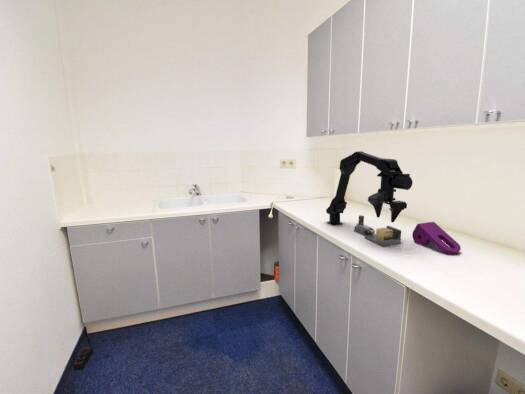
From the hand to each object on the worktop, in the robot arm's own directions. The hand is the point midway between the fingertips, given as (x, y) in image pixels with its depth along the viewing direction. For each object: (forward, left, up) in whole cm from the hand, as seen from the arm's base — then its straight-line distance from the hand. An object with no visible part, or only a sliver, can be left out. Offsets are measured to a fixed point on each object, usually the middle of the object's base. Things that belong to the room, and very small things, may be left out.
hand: (385, 219), depth 126 cm
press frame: (-7, +1, -11) cm, 13 cm away
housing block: (0, 0, -10) cm, 10 cm away
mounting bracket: (+14, +17, -11) cm, 25 cm away
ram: (-13, 0, -10) cm, 16 cm away
